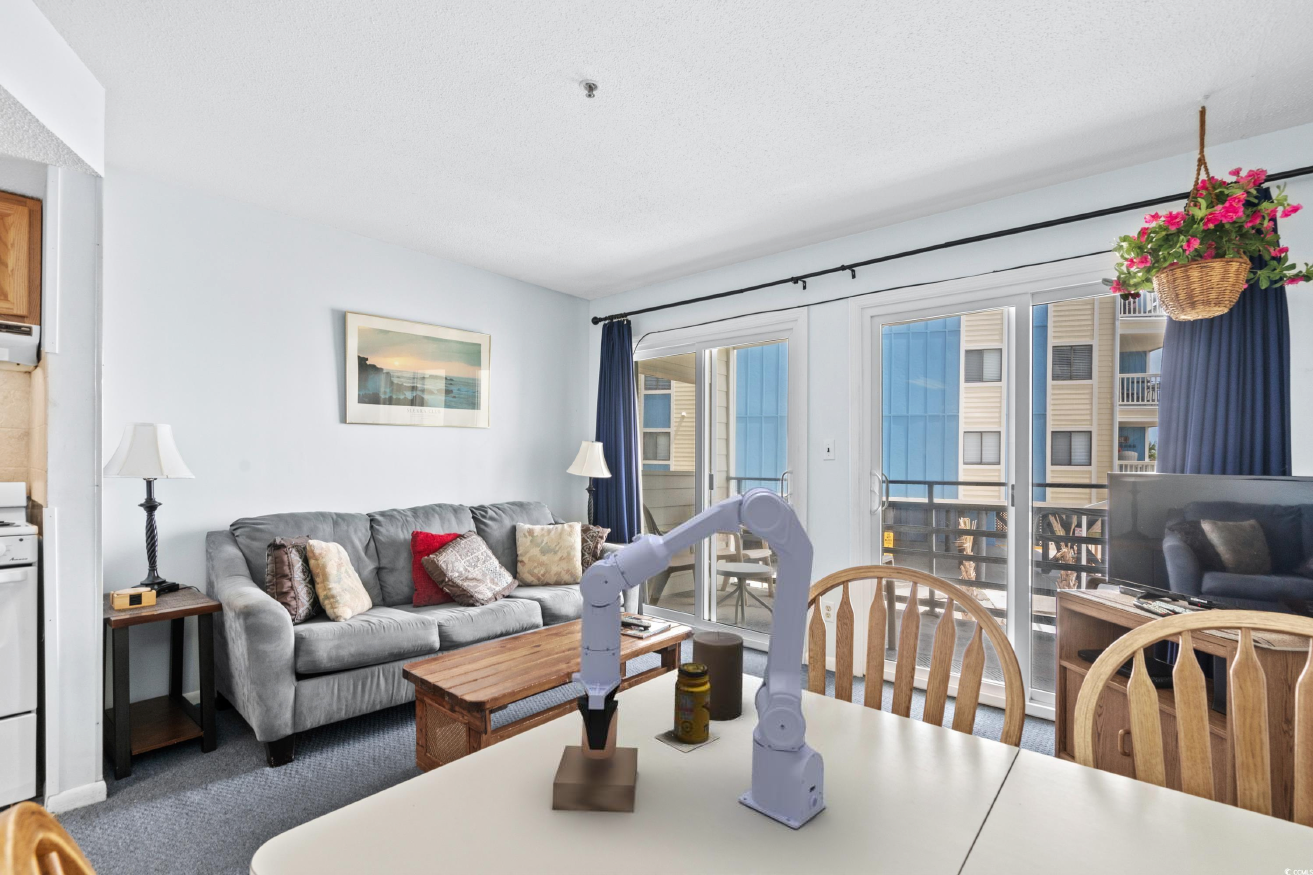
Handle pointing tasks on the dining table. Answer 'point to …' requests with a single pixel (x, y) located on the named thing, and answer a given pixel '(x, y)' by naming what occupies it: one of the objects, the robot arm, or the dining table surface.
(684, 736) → the condiment
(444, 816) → the dining table surface
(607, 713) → the robot arm
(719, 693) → the pillar candle
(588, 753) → the terracotta cylinder
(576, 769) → the walnut block
